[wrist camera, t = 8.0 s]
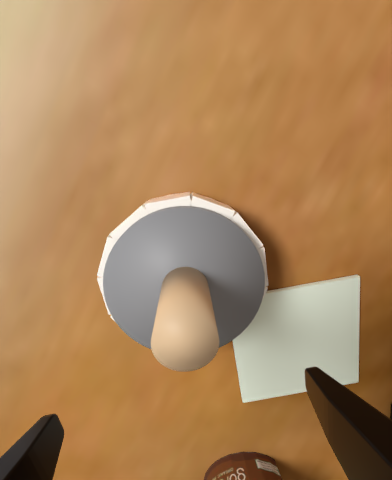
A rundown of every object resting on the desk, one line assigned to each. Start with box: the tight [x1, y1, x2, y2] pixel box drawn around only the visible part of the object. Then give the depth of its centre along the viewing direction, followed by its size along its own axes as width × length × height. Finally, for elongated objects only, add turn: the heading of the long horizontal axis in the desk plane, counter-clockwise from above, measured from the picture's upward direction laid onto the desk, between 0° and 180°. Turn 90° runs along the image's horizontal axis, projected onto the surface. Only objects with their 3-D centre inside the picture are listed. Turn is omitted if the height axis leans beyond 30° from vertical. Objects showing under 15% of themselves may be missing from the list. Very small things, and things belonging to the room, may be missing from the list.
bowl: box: [97, 192, 269, 321], centre depth 19 cm, size 12×12×4 cm
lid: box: [103, 206, 265, 371], centre depth 15 cm, size 11×11×6 cm
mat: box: [232, 275, 360, 403], centre depth 24 cm, size 12×12×1 cm
